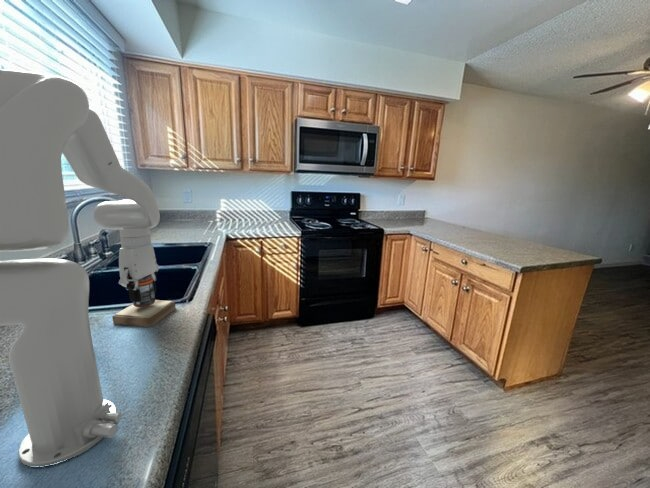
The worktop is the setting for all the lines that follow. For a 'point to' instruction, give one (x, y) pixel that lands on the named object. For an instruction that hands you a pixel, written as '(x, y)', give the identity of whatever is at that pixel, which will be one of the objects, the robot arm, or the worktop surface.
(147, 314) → the light wooden flat block
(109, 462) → the worktop surface
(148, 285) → the supplement bottle
